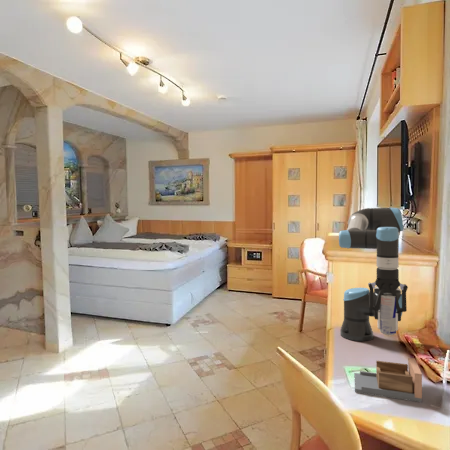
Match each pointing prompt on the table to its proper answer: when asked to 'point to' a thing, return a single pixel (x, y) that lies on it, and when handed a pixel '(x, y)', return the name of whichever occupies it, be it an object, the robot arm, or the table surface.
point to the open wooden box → (393, 376)
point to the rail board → (369, 385)
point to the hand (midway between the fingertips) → (387, 328)
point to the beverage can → (388, 314)
